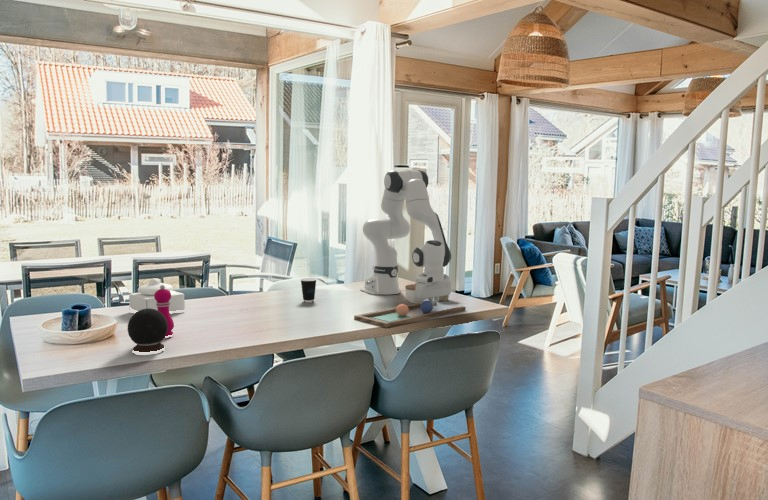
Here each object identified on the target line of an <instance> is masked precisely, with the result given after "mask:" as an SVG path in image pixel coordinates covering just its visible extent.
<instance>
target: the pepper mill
mask: <svg viewBox="0 0 768 500" xmlns="http://www.w3.org/2000/svg"><path fill="white" fill-rule="evenodd" d="M154 298H155V300H156V301H157V302H156V306H157V308H158V311H159V312H161V313H162V314H163V315H164V316H165V318H166V320H167V323H168V331H167V334H166V336H168V335H172V334H173V335H174V332H173V331H172V330H173V329H174V328H175V323H174V320H173V318H172V315H170V313H169V306H170V301H169V300H170V299H171V293H170V291H169V290H167V289H165V286H164V285H161V286H160V290H157V291H156V292H155V295H154Z"/></svg>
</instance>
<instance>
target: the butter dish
mask: <svg viewBox="0 0 768 500" xmlns="http://www.w3.org/2000/svg"><path fill="white" fill-rule="evenodd" d="M161 285H164V286H165V289H167V290H169V291H170V293H171V299H170V300H169V301H170V306H169V311H176V310H184V309H185V310H186V306H185V303H186V302H185V293H182V292H179V291H175V290H174V287H173V285H171V284H168V283H164V282H161V281H160V279H158V278H155V277H154V278H153V277H152V278H151V279H149V281H148V283H147V284H146V283H145V284H143V285H141V286H139V287H138V288H137V292H132V293H129V295H128V302H129V308H130V307H131V308H132V309H134V310H137V311H140V310H142V309H147V308H149V309H155V310H157V311H158V308H157V306H156V302H157V301H156V300H155V298H154V295H155V292H156V291H157V290H160V286H161Z"/></svg>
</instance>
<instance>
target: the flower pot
mask: <svg viewBox="0 0 768 500" xmlns="http://www.w3.org/2000/svg"><path fill="white" fill-rule="evenodd" d="M450 284H451V285H453V282H452V281H450ZM449 297H450V295H444V296H439V300H438V302H443V301H449Z"/></svg>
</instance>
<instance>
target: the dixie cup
mask: <svg viewBox="0 0 768 500" xmlns="http://www.w3.org/2000/svg"><path fill="white" fill-rule="evenodd" d="M317 280H318V279H317V278H315V277H304V278H300V284H301V293H302V300H303V302H304V301H305V302H304V303H313V302H312V301H315V296H316V286H317V285H316V284H317Z"/></svg>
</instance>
